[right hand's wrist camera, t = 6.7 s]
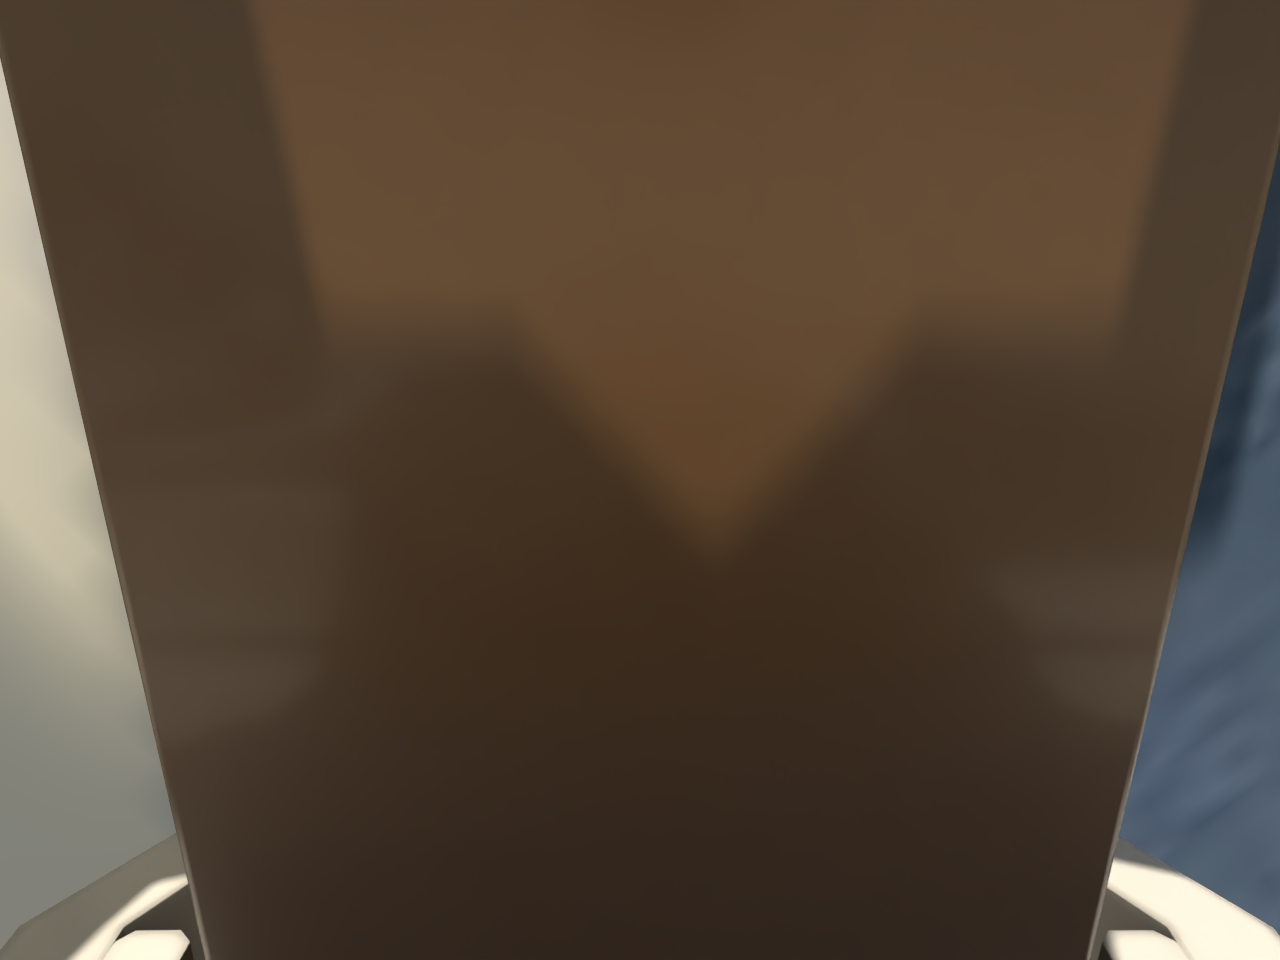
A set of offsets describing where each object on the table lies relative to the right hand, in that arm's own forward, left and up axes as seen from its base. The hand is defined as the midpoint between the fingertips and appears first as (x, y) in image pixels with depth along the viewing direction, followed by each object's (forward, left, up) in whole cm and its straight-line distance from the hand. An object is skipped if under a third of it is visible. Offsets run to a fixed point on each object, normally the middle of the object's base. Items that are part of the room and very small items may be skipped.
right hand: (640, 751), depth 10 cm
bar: (+7, 0, -4) cm, 8 cm away
